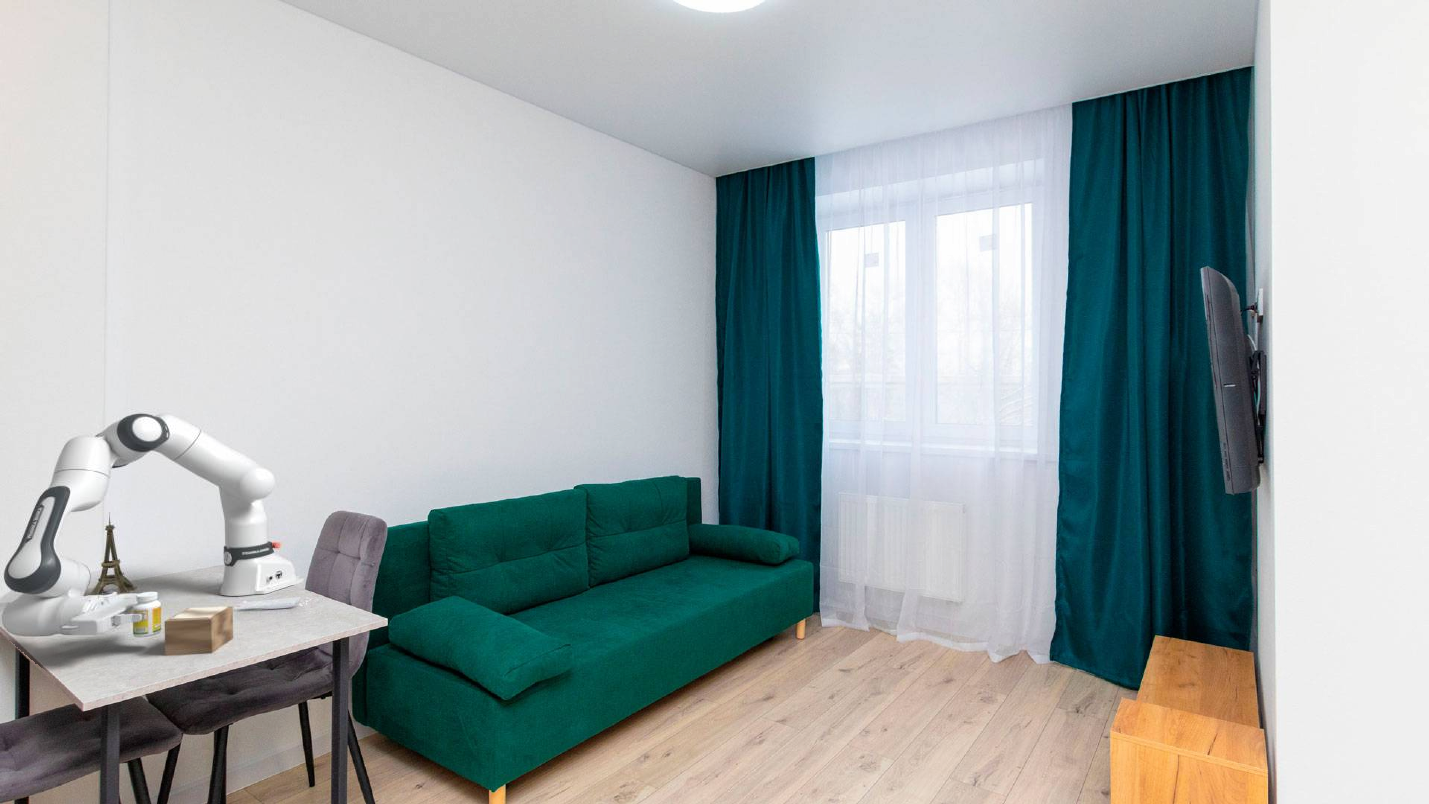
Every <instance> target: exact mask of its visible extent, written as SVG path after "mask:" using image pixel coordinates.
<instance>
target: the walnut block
mask: <svg viewBox="0 0 1429 804" xmlns="http://www.w3.org/2000/svg"><path fill="white" fill-rule="evenodd" d="M233 613H234V611H233V606H230V605H229V606H208V607H207V606H205V607H204V606H201V607H188V608H186V609H185V610H183V611H181V612H179V613H177V614H176V615H174V616H172V617H170V618H168V619H167V620H165V621H163V623H164V655H165V656H181V655H195V654H196V655H199V654H201V655H202V654H203V655H204V654H212V653H214V652H216V651H217V650H218V649H220V648H222V647H223V646H224V645H226V644H227V643H229V642H230V641H231V640H233V639H234V618H233V617H234V614H233Z"/></svg>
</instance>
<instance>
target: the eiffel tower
mask: <svg viewBox="0 0 1429 804" xmlns="http://www.w3.org/2000/svg"><path fill="white" fill-rule="evenodd" d="M108 512H109V513H108V515H109V516H108V517H109V519H108V520H109V521H108V524H107V525H106V526H105V528H104V531H106V539H105V548H104V556H103V557H104V558H103V562H101V564H100V566H101V567H102V568H101V574H100V577H99V578H98V579H97V580H98V582H97V584H96V585H95V586H94V588H93V590H91V592H90V594H89V595H98V594H102V593H103V592H104V591H105V590H104V587H106V586H109V585H115V586H116V587H117V589H118V592H119V594H126V593H130V590H131V591H136V590H137V588H138V587H137V586H135V585H133V583H132V582H131V581H130V580H129V579H127V577H126V576H125V575H124V574H125V573H124V572H122V570H121V569H122V568H121V566H120V564H121V559H120V558H119V559H118V553H117V547H116V543H115V537H114V536H115V535H114V529H116V527H115V524H111V516H110V515H111V512H110V511H108ZM110 555H111V560H110ZM109 569H113V573H114V574H108V571H109ZM135 589H136V590H135ZM104 593H105V592H104Z"/></svg>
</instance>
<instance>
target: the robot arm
mask: <svg viewBox="0 0 1429 804" xmlns="http://www.w3.org/2000/svg"><path fill="white" fill-rule="evenodd" d="M150 452H156V453H159V454H161V455H162V456H163V457H165V458H167V459H169V460H170V461H172V462H174V463H175V464H177V465H179V466H181V467H182V468H184V470H185V469H186V470H187V471H189V472H191V473H192V474H194V475H196V476H198V477H200V478H201V479H204V480H206V481H207V482H209V483H212V484H213V485H214V486H217V487H218V491H219V497H220V503H221V509H222V513H223V518H224V539H225V540H224V546H223V564H224V572H223V579H222V584H221V587H220V591H219V594H220V595H222V596H227V597H232V596H233V597H236V596H237V597H238V596H239V597H241V596H250V595H266V594H269V593H272V592H276V591H279V590H282V589H284V588H287V587H291V586H293V585H297V584H300V583H302V582H304V581H305V579H304V577H303V576H301V575H299V574H296V569H295V565H294V563H293V562H292V561H291V560H289V559H288V558H285V557H284V556H282V555H280V554H278V553H276V552H275V550H276V549H277V550H279V549H281V547H282V543H281V542H280V541H274V542H272V541H269V532H268V531H269V529H268V528H269V527H268V526H269V525H268V523H269V522H268V521H269V519H268V515H267V512H266V510H265V506H264V501H263V499H265V498H267V497H269V496H270V495H271V494H272V493H273V491H274V489H275V486H276V478H275V476H274V474H273V473H272V472H271V471H270V470H269V469H268V468H267V467H265V466H263V465H261V464H260V463H259V462H257V461H255V460H253V459H251V458H250V457H248V456H246V455H244V454H242V453H240V452H239V451H237V450H235V449H233V448H231V447H229V446H227V444H224V443H223V442H221V441H219V440H218V439H216V438H215V437H213V436H212V435H210V434H209V433H207V432H205V431H204V430H202V429H200V428H198V427H197V426H195V425H193V424H192V423H190V422H188V421H186V420H184V419H182V418H179V417H178V416H176V415H173V414H169V413H159V414H156V415H152V414H148V413H134V414H130V415H127V416H125V417H123V418H122V419H120V420H118V421H115V422H113V423H112V424H110V425H109V426H107V427H106V428H105V429H103V430H102V431H101V432H99V433H98V434H96V435H95V436H93V435H81V436H79V435H78V436H76V437H75V436H74V437H72V438H71V439H69V440H67V442H66V443H65V444H64V446H63V448H62V449H61V451H60V454H59V455H58V458H57V461H56V463H55V466H54V471H53V473H52V478H51V482H50V484H49V486H48V488H47V489H45V490H44V491H43V492H42V493H41V495H40V496H39V498H38V499H37V501H36V504H35V505H34V508H33V510H32V512H31V515H30V517H29V521H28V523H27V526H26V528H25V531H24V533H23V535H22V538H21V541H20V543H19V545H18V547H17V549H16V551H15V552H14V553H13V555H12V556H11V558H10V559H9V560H8V562H7V564H6V566H5V569H4V571H3V572H4V573H3V580H4V583H5V584H6V586H7V588H9V589H10V590H12V592H15V593H20V594H21V595H20V596H18V597H17V598H16V599H14V600H13V601H10V602H8V603H7V604H6V605H5V606H4V608H3V610H2V614H1V623H2V625H3V628H4V629H5V630H6V632H8V633H10V634H12V635H14V636H17V637H18V636H19V637H35V638H36V637H51V636H54V635H63V636H98V635H102V634H105V633H108V632H110V631H111V630H114V629H115V628H117V627H119V626H121V625H125V624H126V625H127V624H132V623H133V622H140V621H141V620H143V619H144V613H134V614H133V606H134V605H135V604H136V603H138V602H137V601H136V596H137V595H138V594H139V593H135V592H134V593H133V592H129V593H126V594H120V593H119V594H118V592H117V591H109V592H104V593H103V594H98V595H90V594H89V595H85V594H86V592H87V590H88V587H89V586H90V583H91V574H92V573H91V571H90V569H89V568H88V566H87V565H85V564H84V563H81V562H79V561H77V560H74V559H72V558H69V557H66V556H63V555H61V554H60V553H59V552H58V550H57V542H58V539H59V537H60V534H61V531H62V527H63V525H64V523H65V520H66V518H67V517H68V515H69V514H70V513H77V512H83V511H87V510H90V509H92V508H95V507H96V506H98V505H100V504H101V503H102V502H103V500H104V498H105V496H106V495H107V491H108V489H109V483H110V477H111V470H112V469H119V468H122V467H125V466H128V465H129V464H132V463H134V462H136V461H138V460H140V459H142V458H144V457H145V456H146V455H147V454H148V453H150ZM274 549H275V550H274Z"/></svg>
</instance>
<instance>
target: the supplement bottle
mask: <svg viewBox="0 0 1429 804" xmlns="http://www.w3.org/2000/svg"><path fill="white" fill-rule="evenodd" d="M137 594H138V595H137V596H136V601H137V602H138V603H136V604H135V605H134V606H133V614H134V613H144V619H143V620H141V621H140V622H132V635H133V637H135V638H147V637H152V636H155V635H157V634H160V633H161V632H162V604H161V601H160V600H157V599H158V592H157V591H147V592H146V591H145V592H142V593H137Z"/></svg>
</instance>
